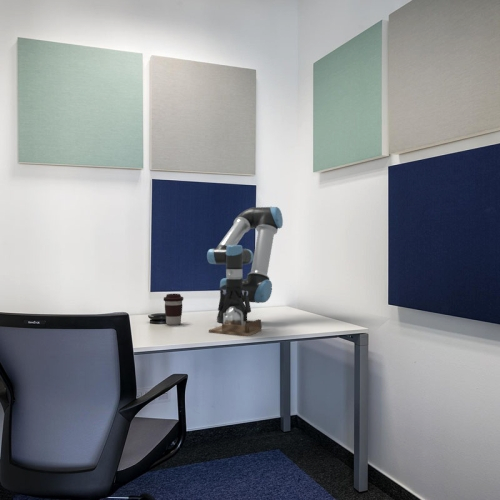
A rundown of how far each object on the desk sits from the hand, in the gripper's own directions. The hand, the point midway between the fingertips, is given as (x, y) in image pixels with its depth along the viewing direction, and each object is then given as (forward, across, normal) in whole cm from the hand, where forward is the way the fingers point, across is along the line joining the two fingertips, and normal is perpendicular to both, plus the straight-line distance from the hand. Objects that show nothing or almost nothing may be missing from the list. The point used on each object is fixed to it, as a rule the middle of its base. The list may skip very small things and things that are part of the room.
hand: (234, 327), depth 217 cm
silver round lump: (0, 0, 0) cm, 0 cm away
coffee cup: (+2, -38, +5) cm, 38 cm away
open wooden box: (+2, 0, 0) cm, 2 cm away
